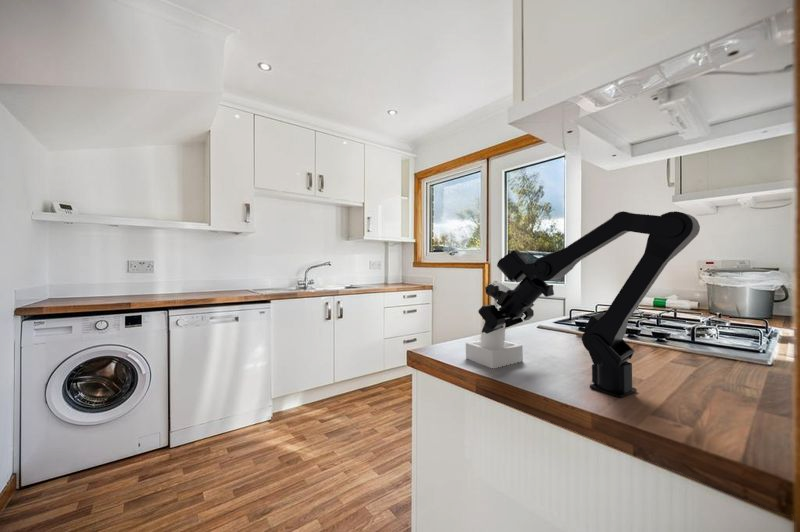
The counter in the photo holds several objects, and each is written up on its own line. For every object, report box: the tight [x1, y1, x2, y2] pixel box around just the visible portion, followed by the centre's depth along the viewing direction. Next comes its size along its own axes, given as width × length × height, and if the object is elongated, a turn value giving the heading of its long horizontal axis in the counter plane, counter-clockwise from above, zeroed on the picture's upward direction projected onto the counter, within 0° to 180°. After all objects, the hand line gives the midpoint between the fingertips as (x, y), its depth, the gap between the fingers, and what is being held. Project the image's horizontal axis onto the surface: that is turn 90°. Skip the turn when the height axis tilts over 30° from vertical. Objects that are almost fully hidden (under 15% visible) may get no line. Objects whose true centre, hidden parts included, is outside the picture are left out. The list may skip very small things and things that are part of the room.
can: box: [480, 318, 506, 350], centre depth 93 cm, size 6×6×12 cm
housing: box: [465, 339, 524, 370], centre depth 94 cm, size 11×11×4 cm
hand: (489, 331), depth 95 cm, fingers closed on can, 6 cm apart
